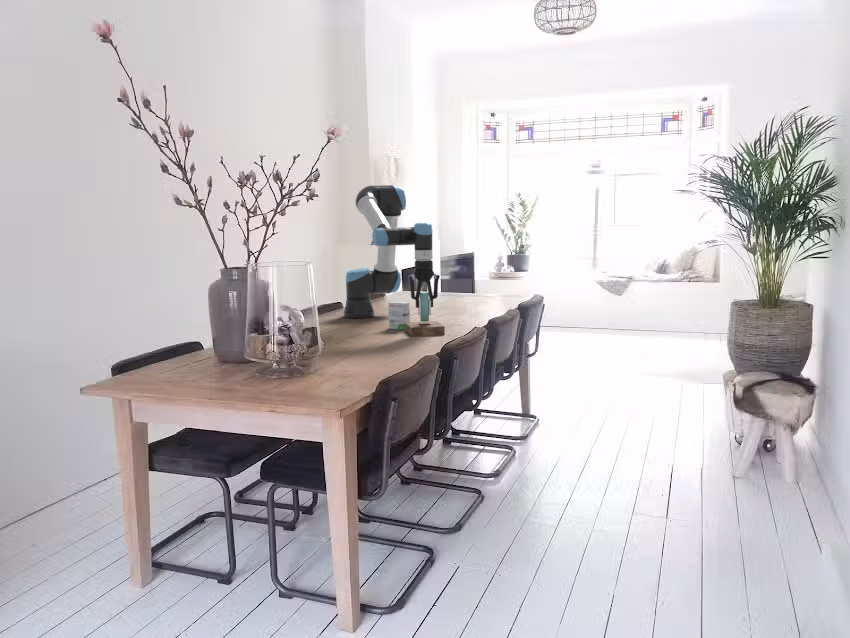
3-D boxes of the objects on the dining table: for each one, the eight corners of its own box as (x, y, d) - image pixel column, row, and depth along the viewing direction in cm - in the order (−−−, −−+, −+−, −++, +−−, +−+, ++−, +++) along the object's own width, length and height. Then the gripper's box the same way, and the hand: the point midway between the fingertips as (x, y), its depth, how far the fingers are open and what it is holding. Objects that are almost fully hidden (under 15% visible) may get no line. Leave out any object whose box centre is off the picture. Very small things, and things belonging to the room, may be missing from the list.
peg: (419, 320, 302) (419, 292, 300) (427, 320, 302) (427, 292, 301) (421, 321, 298) (420, 293, 296) (429, 321, 299) (429, 293, 297)
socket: (405, 330, 307) (405, 322, 306) (437, 329, 309) (437, 321, 309) (411, 336, 293) (411, 328, 292) (444, 334, 296) (444, 326, 295)
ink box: (410, 328, 312) (410, 302, 310) (405, 330, 308) (404, 303, 306) (394, 327, 317) (393, 301, 315) (388, 328, 312) (387, 302, 310)
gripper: (405, 261, 291) (406, 317, 295) (444, 260, 294) (445, 315, 298) (402, 260, 298) (403, 314, 302) (440, 258, 302) (441, 312, 305)
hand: (424, 315), depth 300 cm, fingers closed on peg, 3 cm apart
